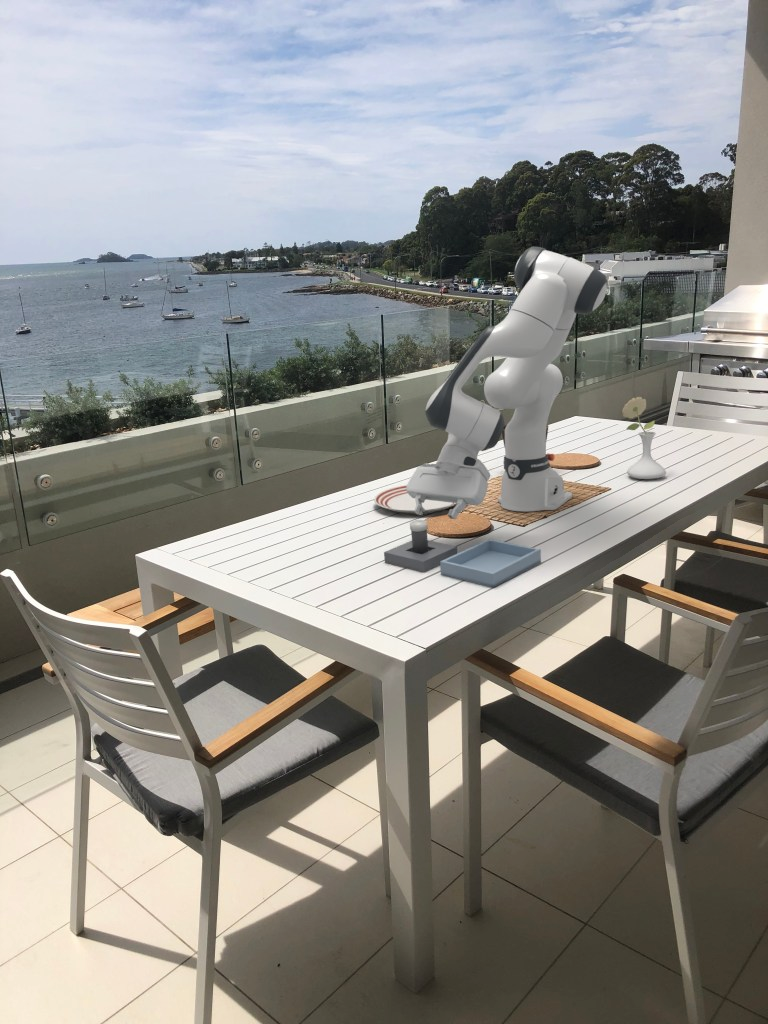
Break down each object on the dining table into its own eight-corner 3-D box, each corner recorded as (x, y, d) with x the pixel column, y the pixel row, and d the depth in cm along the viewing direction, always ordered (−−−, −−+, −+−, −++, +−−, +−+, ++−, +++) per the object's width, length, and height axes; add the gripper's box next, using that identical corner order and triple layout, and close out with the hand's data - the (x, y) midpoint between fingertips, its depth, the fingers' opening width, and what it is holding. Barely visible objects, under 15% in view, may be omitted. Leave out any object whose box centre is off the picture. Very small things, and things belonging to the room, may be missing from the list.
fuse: (420, 555, 179) (417, 519, 176) (433, 558, 176) (430, 521, 173) (409, 560, 176) (406, 523, 173) (422, 563, 173) (419, 526, 171)
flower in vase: (660, 472, 237) (662, 392, 231) (670, 481, 227) (672, 397, 220) (617, 474, 239) (618, 395, 232) (625, 483, 228) (626, 400, 221)
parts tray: (489, 551, 178) (489, 539, 177) (540, 562, 169) (540, 549, 168) (440, 574, 166) (440, 561, 165) (493, 587, 156) (492, 573, 156)
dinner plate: (463, 518, 206) (462, 506, 205) (365, 519, 212) (364, 508, 211) (472, 492, 232) (472, 481, 231) (385, 494, 237) (384, 483, 237)
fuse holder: (418, 547, 184) (418, 538, 183) (457, 556, 176) (457, 546, 175) (384, 562, 176) (384, 552, 175) (424, 572, 168) (423, 561, 167)
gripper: (413, 456, 185) (392, 504, 180) (486, 461, 173) (465, 513, 168) (425, 469, 190) (404, 517, 185) (496, 475, 177) (477, 527, 173)
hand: (434, 515), depth 176 cm, fingers open, 8 cm apart
